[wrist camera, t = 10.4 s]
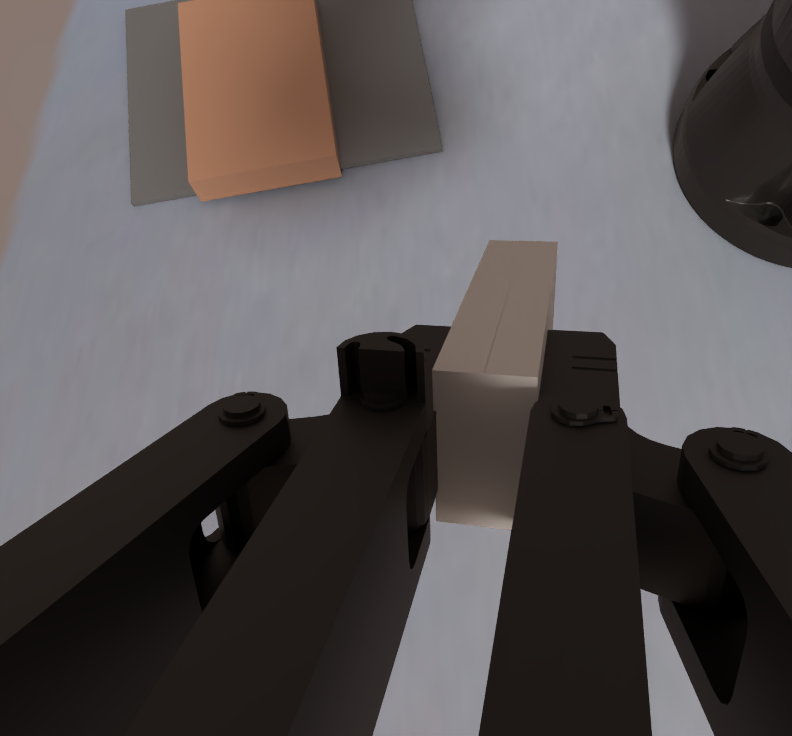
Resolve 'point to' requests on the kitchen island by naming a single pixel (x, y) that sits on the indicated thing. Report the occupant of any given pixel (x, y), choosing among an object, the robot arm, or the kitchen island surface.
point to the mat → (347, 77)
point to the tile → (255, 96)
